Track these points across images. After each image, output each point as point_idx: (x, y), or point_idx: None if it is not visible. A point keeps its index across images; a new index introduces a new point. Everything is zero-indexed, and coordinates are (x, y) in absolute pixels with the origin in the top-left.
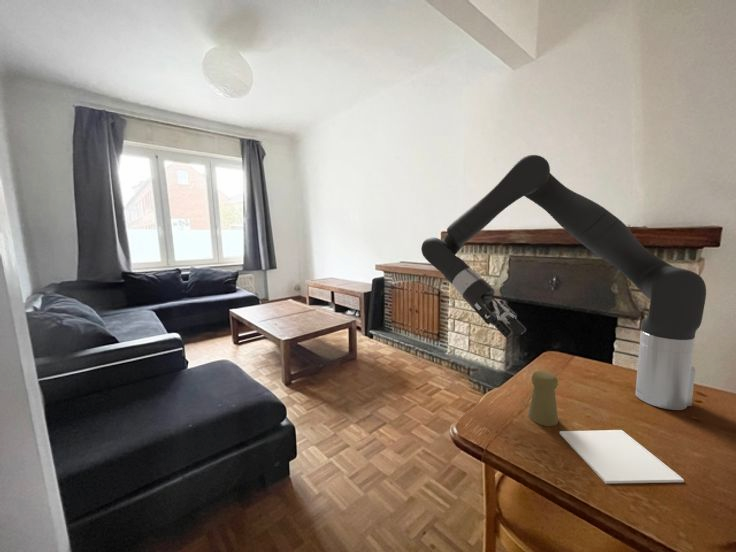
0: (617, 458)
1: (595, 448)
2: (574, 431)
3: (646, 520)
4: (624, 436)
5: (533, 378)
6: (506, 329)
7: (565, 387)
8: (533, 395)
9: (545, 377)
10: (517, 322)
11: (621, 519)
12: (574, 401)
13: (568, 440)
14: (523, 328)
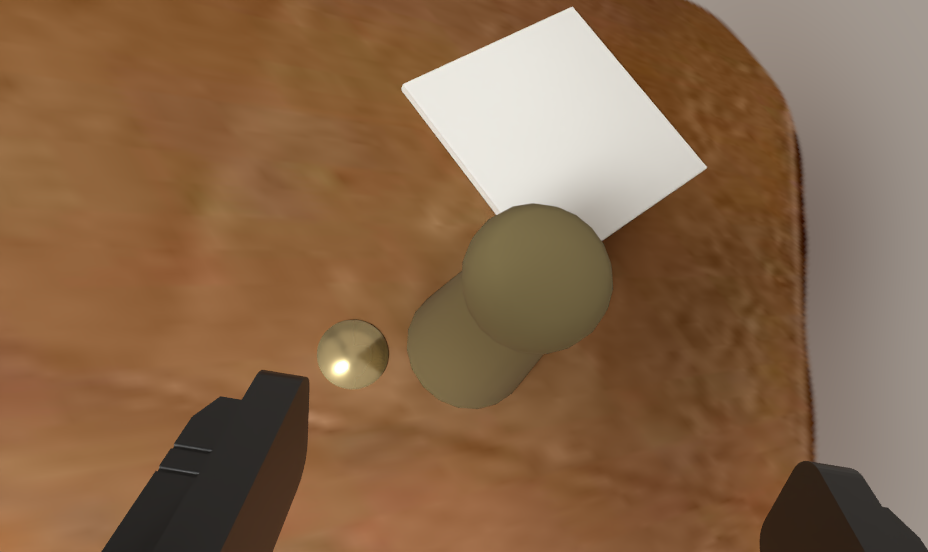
0: (586, 125)
1: (576, 174)
2: None
3: (755, 115)
4: (443, 85)
5: (588, 332)
6: (913, 542)
7: (45, 258)
8: (536, 358)
9: (598, 255)
10: (247, 512)
11: (789, 158)
12: (219, 221)
13: None
14: (295, 403)
